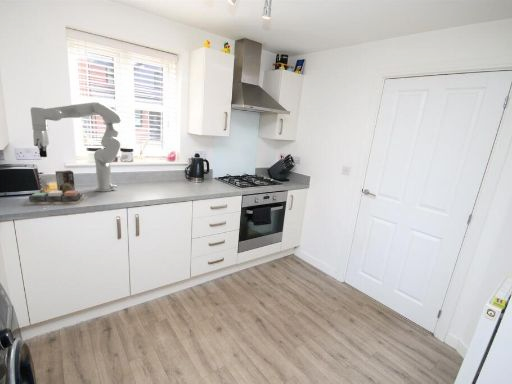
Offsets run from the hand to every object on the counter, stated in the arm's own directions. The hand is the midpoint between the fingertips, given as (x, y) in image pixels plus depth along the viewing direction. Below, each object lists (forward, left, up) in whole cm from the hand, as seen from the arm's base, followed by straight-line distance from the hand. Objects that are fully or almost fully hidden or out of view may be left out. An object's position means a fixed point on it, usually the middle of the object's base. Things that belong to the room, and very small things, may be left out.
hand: (43, 156), depth 169 cm
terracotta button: (-17, +11, -24) cm, 31 cm away
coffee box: (-8, -9, -27) cm, 30 cm away
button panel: (-8, +11, -27) cm, 30 cm away
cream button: (-8, +11, -24) cm, 28 cm away
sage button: (0, +11, -25) cm, 28 cm away
